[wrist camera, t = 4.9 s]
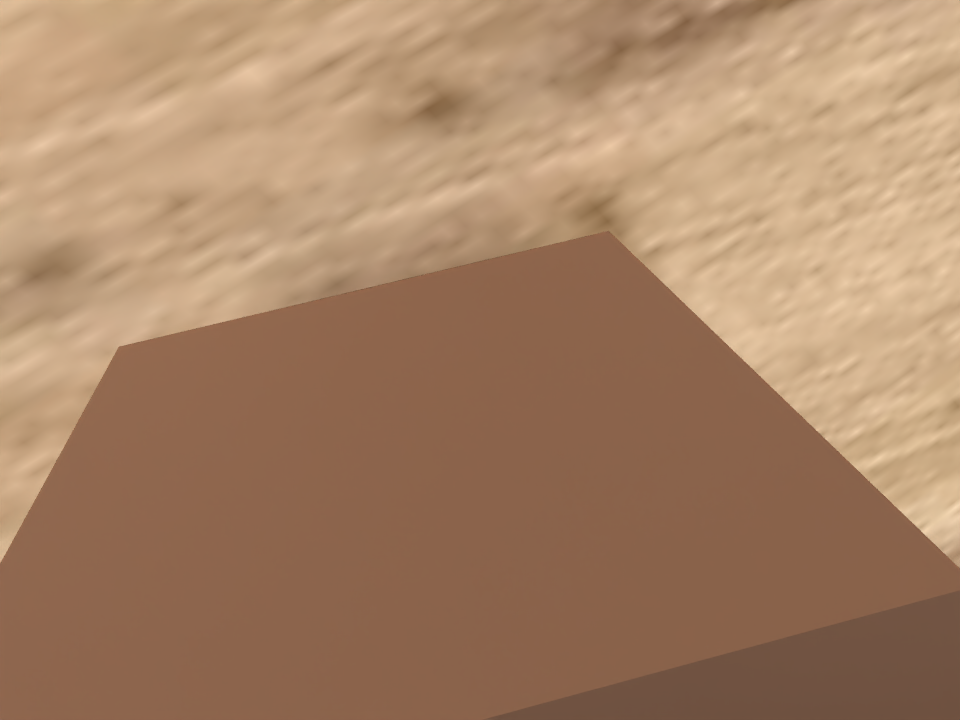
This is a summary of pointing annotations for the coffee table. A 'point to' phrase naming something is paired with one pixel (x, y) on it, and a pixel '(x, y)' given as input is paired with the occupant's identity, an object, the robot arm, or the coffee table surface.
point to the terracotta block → (467, 523)
